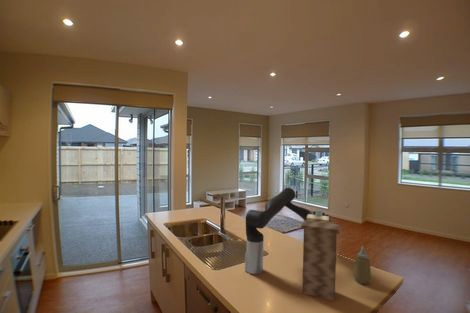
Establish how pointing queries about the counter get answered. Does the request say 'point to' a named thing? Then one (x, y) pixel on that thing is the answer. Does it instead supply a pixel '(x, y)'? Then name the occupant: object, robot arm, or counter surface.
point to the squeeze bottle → (362, 268)
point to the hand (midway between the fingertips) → (318, 213)
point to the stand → (319, 259)
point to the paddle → (317, 217)
